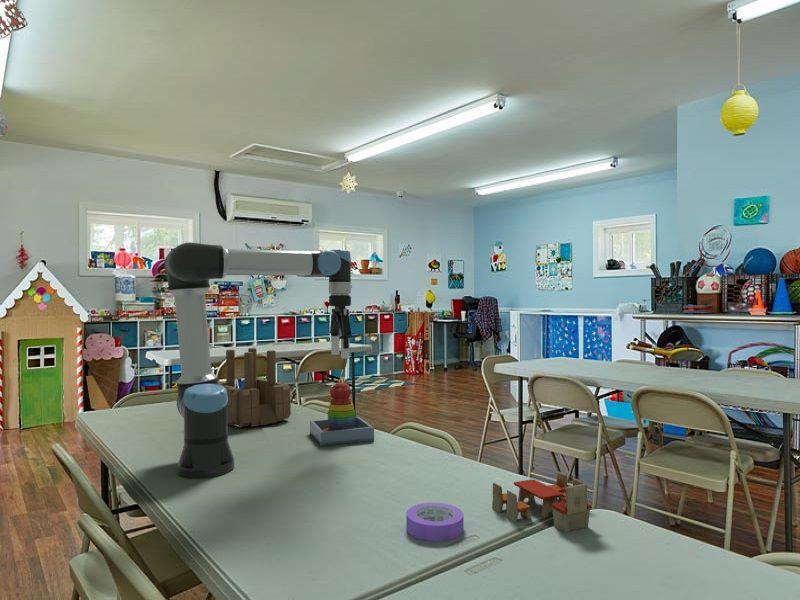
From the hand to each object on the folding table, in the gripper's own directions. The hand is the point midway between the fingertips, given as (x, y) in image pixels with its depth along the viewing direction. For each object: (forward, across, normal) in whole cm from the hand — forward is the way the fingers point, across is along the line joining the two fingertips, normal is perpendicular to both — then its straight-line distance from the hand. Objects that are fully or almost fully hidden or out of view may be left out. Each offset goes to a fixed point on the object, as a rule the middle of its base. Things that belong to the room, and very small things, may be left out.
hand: (340, 356), depth 185 cm
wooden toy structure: (+28, +44, +26) cm, 58 cm away
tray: (+28, 0, 0) cm, 28 cm away
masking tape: (+28, -80, +1) cm, 85 cm away
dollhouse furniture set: (+28, -83, -25) cm, 91 cm away
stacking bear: (+27, 0, 0) cm, 27 cm away
